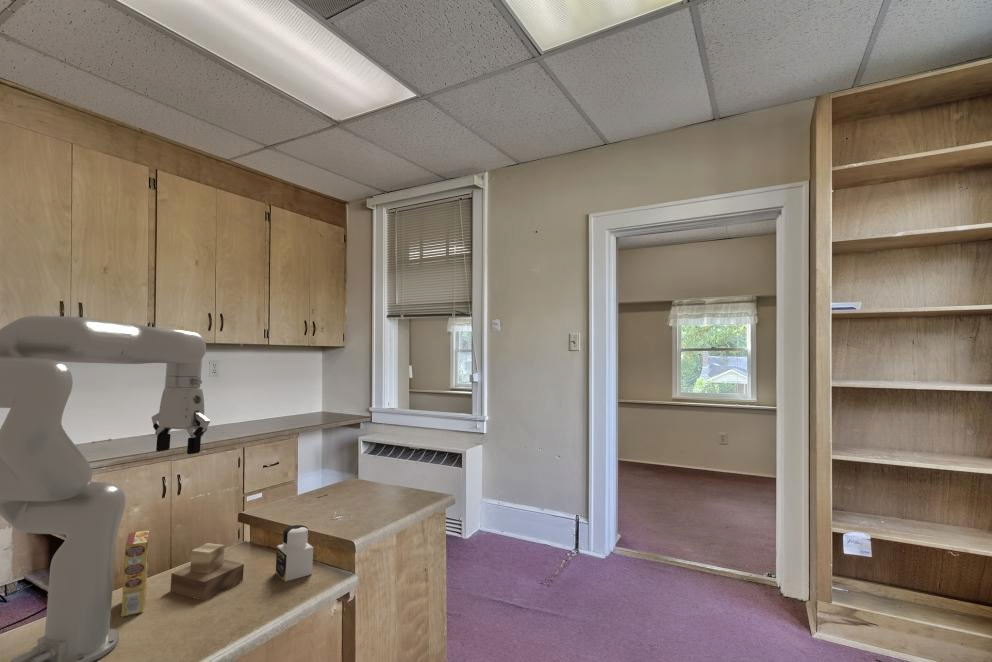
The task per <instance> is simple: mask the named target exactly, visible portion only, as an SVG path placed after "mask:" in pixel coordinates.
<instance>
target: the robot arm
mask: <svg viewBox="0 0 992 662" xmlns="http://www.w3.org/2000/svg"><path fill="white" fill-rule="evenodd" d="M206 353H207V344H206V340H205V339H204V337H203V336H202V335H201V334H199V333H197V332H195V331H187V330H180V329H173V328H163V327H154V326H153V327H152V326H148V325H140V324H133V323H124V322H117V321H111V320H101V319H96V318H88V317H80V316H69V315H68V316H64V315H63V316H58V315H27V316H23V317H20V318H18V319H16V320H14V321H13V320H12V322H10V323H8V324H6V325H5V326H3V327H1V328H0V409H9V411H8V413H7V414H6V418H5V419H4V421H3V422H2V425H1V427H0V516H1V517H2V518H3V519H4V520H5V521H6V522H7V523H9V524H10V525H11V526H12V527H13V528H15V529H16V530H18V531H21V532H22V533H27V534H37V535H63V536H65V540H64V541H63V543H62V544H61V545H60V546H59V548H57V550H56V551H55V553H54V554H53V556H52V559H51V562H50V566H49V580H48V581H49V582H48V591H47V594H48V595H47V603H46V604H47V605H46V618H45V629H44V635H43V636H41V637H39V638H38V639H37V643H36V645H35V646H33V647H32V649H31V650H29V651H27V652H24V653H21V654H19V655H18V656H16V657H14V658H12V659H11V661H10V662H94V661H96V660H98V659H100V658H102V657H104V656H105V655H107V654H108V653H109V652H111V651H112V650H114V648H116V647H117V645H118V643H119V641H120V633H119V632H118V631H117V630H116V629H114V628H111V616H112V614H111V613H112V602H113V588H114V577H115V576H114V575H115V560H116V548H117V542H118V541H117V539H118V535H119V529H120V525H121V522H122V519H123V516H124V513H125V509H126V495H125V492H124V490H123V489H121V488H120V487H118V485H115V484H112V483H108V482H102V481H92V478H93V471H92V468H91V465H90V462H89V461H88V460H87V459H86V457H85V456H84V454H83V453H82V452H81V451H80V450H79V448H78V447H77V446H76V445H75V443H74V442H73V440H72V439H71V438H70V437H69V435H68V434H67V433H66V432H67V431H65V429H64V428H63V426H62V419H63V414H64V411H65V408H66V405H67V403H68V400H69V397H70V395H71V393H72V389H73V384H74V383H73V375H72V372H71V370H70V369H69V368H68V367H67V365H65V364H64V363H76V364H77V363H78V364H79V363H80V364H82V363H83V364H84V363H85V364H113V365H114V364H115V365H116V364H117V365H118V364H119V365H124V364H125V365H142V364H143V365H144V364H166V367H165V369H166V370H165V380H164V388H163V391H162V395H161V399H160V404H159V411H158V413H155V414H154V415H152V416H151V420H152V421H151V422H152V425H153V426H152V427H153V429H154V430H155V431H154V432H155V433H154V434H155V435H156V447H155V448H156V449H155V451H156V452H163V451H168V450H170V446H171V445H170V444H171V433H169V432H171V430H184V431H185V430H186V431H187V433H188V435H189V437H188V438H187V450H186V454H187V455H194V454H199V453H200V452H201V445H202V444H201V443H202V437H204V433H205V432H206V431H208V427H209V424H210V423H211V420H210V419H209V418H208V417H206V416H205V398H204V391H203V389H202V388H201V385H202V382H203V381H202V380H201V379H202V378H201V377H202V365H203V358H204V356H205V355H206Z"/></svg>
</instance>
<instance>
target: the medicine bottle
mask: <svg viewBox="0 0 992 662" xmlns="http://www.w3.org/2000/svg"><path fill="white" fill-rule="evenodd" d="M282 535H283V536H282V537H283V538H282V544H278V545H277V546H276V558H275V574H276V575H278V577H279V578H281V580H282V581H284V582H290V581H293V580H297V579H300V578H304V577H307V576H310V575H312V574H313V562H314V559H313V558H314V546H312V544H309V543H308V539H309V528H308V526H305V525H303V524H296V525H295V524H294V525H291V526H288V527H286V528H284V530H283V534H282Z"/></svg>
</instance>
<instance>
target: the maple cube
mask: <svg viewBox="0 0 992 662" xmlns="http://www.w3.org/2000/svg"><path fill="white" fill-rule="evenodd" d="M190 553H191V554H190V555H191V556H190V566H191V567H190V572H198V573H207V574H209V573H210V572H212V571H214V570H216V569H217V568H219V567H221V566H223V561H224V560H225V558H224V557H225V556H224V555H225V544H219V543H212V542H211V543H210V542H208V543H207V542H206V543H204V544H203V545H200V546H198V547H196V548H193V549H192V550H191V552H190Z"/></svg>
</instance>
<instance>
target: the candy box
mask: <svg viewBox="0 0 992 662" xmlns="http://www.w3.org/2000/svg"><path fill="white" fill-rule="evenodd" d="M149 543H150V530H142V531H141V530H140V531H134V532H130V533H128V536H127V540H126V544H125V547H124V561H123V562H124V563H123V565H124V566H123V579H122V598H121V599H122V600H121V613H120V617H128V616H131V615H136V614H140V613H141V614H142V613H144V610H145V606H146V605H145V603H146V597H147V595H146V594H147V585H148V584H147V581H148V579H147V578H148V563H149V546H150V545H149Z"/></svg>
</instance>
